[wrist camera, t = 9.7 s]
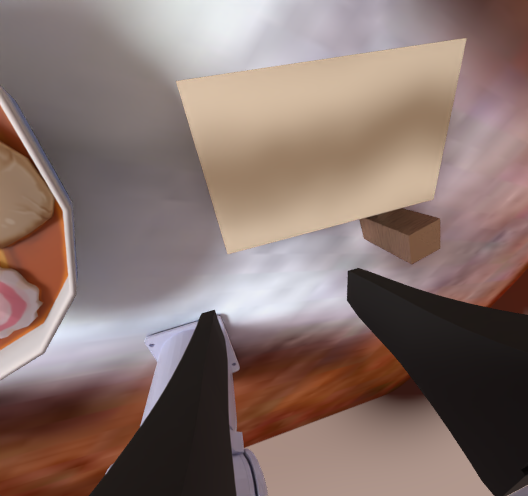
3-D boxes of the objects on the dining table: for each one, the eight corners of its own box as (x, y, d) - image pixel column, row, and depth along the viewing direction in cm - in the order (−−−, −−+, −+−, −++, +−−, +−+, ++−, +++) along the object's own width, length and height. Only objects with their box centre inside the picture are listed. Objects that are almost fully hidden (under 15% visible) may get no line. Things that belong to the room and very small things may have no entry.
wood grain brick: (385, 226, 22) (440, 248, 17) (363, 238, 22) (411, 264, 17) (365, 100, 16) (438, 73, 11) (335, 116, 16) (394, 97, 11)
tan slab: (369, 184, 20) (442, 196, 13) (222, 220, 18) (227, 254, 12) (375, 82, 16) (478, 36, 10) (191, 114, 14) (175, 80, 8)
